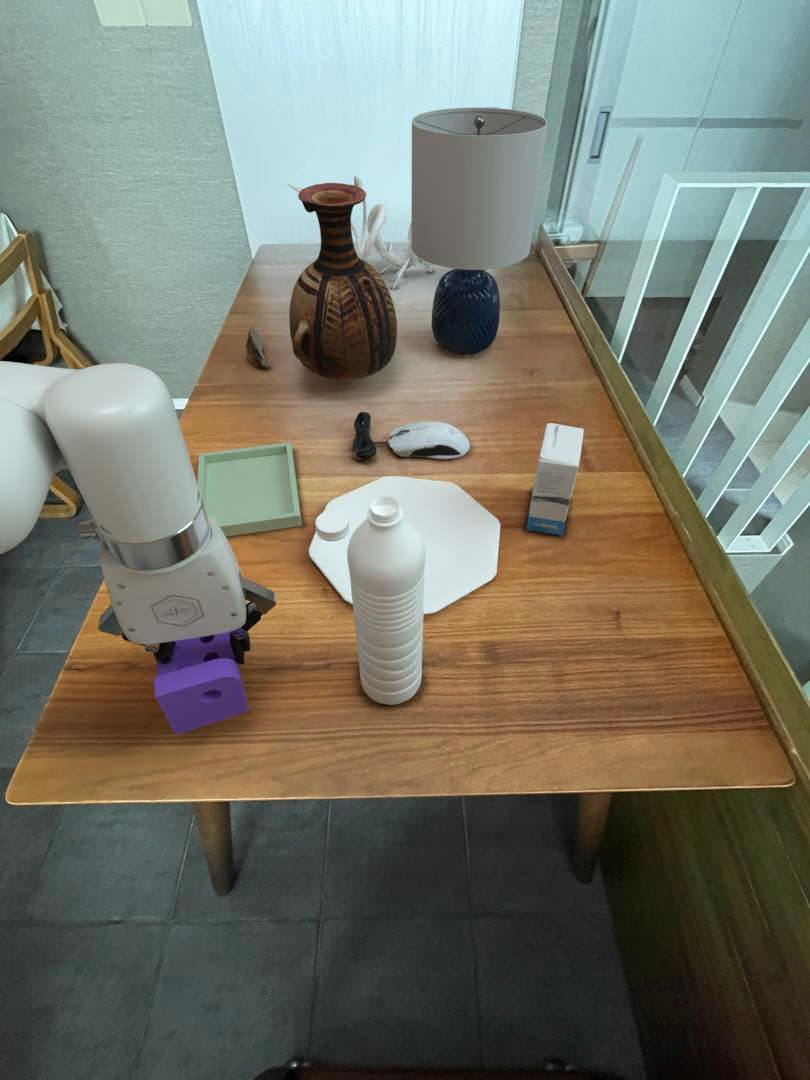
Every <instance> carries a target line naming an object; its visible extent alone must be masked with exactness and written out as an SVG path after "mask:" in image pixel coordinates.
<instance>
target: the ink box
mask: <svg viewBox="0 0 810 1080" xmlns="http://www.w3.org/2000/svg"><path fill="white" fill-rule="evenodd" d="M584 431H585V430H584V428H583V427H576V426H570V425H564V424H560V423H553V422H549V423H546V425H545V430H544V434H543V440H542V444H541V448H540V452H539V457H538V462H537V466H536V471H535V477H534V481H533V487H532V493H531V499H530V505H529V510H528V517H527V523H526V530H527V531H529V532H536V533H541V534H547V535H553V536H554V535H555V536H559V537H560V536H563V533H564V528H565V524H566V520H567V516H568V511H569V507H570V504H571V500H572V495H573V492H574V487H575V483H576V479H577V475H578V472H579V471H578V470H579V466H580V462H581V455H582V447H583V440H584Z"/></svg>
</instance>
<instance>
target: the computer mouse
mask: <svg viewBox="0 0 810 1080" xmlns="http://www.w3.org/2000/svg"><path fill="white" fill-rule="evenodd" d="M371 421H372V416H371V414H370V413H369V412H368V411H367V412H365V411H359V413H358V414H357V415H356V418H355V419H354V422H353V426H354V427H353V428H354V431H355V433H354V434H355V435H354V438H353V441H352V452H353V458H355V459H357V460H359V461H361V460H362V461H365V462H368V461H370V460H371V459H372V458H374V457H375V456H376V455H377V453H378V450H377V449H378V448H377V445H381V444H387V445H388V446H389V447H390V448H391V449H392V451H393V452H394V453H395V454H397V455H398V456H399V457H403V458H408V457H409V458H410V457H418V458H429V459H434V460H457V459H460V458H462V457H464V456H465V455H466V454H467V453H469V451H470V449H471V442H470V440H469V439H468V438H467V436H466V435H465V434H464V433H463V432H462V431H461V430H459V429H458V428H457V427H455V426H454V425H451V424H449V423H447V422H443V421H418V422H417V421H416V422H412V423H408V424H405V425H401V426H398V427H395V428H393V429H392V431H391V432H390V434H389V435H388V438H390V439H389V440H388V441H374V440H373V439H372V437H371V435H370V427H371Z"/></svg>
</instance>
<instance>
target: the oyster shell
mask: <svg viewBox="0 0 810 1080" xmlns="http://www.w3.org/2000/svg"><path fill="white" fill-rule="evenodd" d="M262 338H263V337H262V334H261V332H260V331H259V330H258V329H257V328H255V327H253V326H250V327H249V330H248V333H247V341H246V344H245V352H246V356H247V358H248V360H249V361H250V363H251V364H252V365H253V366H255V367H256V368H258V369H262V370H266V369H268V368H269V363H268V362H267V361H266V357H265V355H264V353H263V348H264V346H263V339H262Z"/></svg>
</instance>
